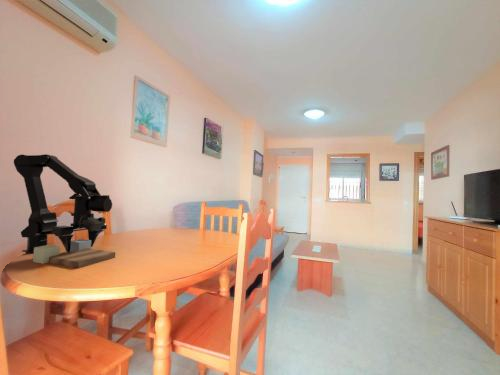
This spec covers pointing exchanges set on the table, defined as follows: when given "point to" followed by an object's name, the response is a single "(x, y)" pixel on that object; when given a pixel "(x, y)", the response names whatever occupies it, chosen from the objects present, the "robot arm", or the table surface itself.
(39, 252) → the sage block
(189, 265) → the table surface
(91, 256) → the walnut base
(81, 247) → the slate block
